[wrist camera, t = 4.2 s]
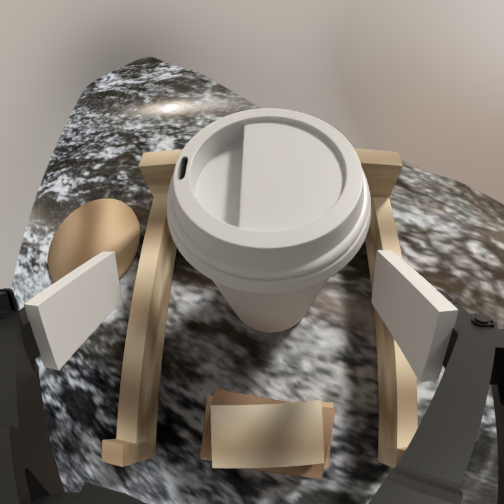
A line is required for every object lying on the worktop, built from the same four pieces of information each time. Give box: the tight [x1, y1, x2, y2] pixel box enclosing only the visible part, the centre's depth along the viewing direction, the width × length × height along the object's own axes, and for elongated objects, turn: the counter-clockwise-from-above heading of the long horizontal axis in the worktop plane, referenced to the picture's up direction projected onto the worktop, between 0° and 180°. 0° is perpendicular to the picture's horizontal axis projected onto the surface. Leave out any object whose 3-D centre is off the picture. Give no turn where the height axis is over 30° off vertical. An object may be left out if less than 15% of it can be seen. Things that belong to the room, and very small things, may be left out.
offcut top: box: [211, 400, 324, 468], centre depth 17 cm, size 4×6×2 cm, turn 92°
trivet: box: [48, 199, 140, 282], centre depth 29 cm, size 11×11×1 cm
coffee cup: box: [167, 108, 371, 333], centre depth 19 cm, size 10×10×15 cm
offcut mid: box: [199, 388, 336, 479], centre depth 19 cm, size 5×8×2 cm, turn 78°
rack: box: [102, 149, 417, 468], centre depth 21 cm, size 22×20×8 cm
